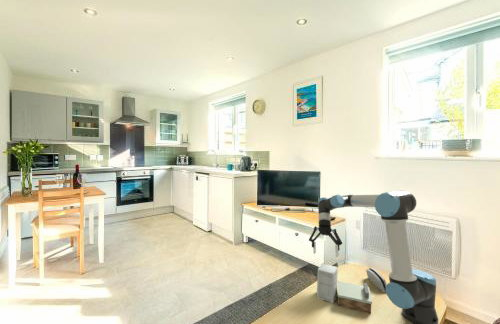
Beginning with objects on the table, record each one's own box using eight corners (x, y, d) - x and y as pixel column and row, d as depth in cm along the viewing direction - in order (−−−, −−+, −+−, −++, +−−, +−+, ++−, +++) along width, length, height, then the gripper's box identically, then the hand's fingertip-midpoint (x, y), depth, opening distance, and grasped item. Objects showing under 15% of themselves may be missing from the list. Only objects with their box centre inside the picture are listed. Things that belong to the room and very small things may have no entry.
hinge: (391, 292, 146) (386, 277, 145) (384, 294, 145) (379, 279, 145) (375, 277, 162) (370, 263, 161) (368, 279, 162) (364, 266, 161)
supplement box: (337, 295, 142) (338, 267, 141) (333, 303, 134) (334, 273, 133) (320, 290, 147) (321, 262, 146) (316, 297, 139) (317, 269, 138)
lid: (368, 289, 139) (369, 281, 139) (371, 304, 125) (372, 296, 125) (337, 283, 145) (338, 276, 145) (337, 296, 131) (338, 289, 131)
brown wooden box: (367, 298, 139) (368, 289, 139) (370, 313, 126) (371, 304, 126) (338, 292, 145) (338, 283, 144) (338, 306, 132) (338, 297, 131)
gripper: (341, 225, 162) (344, 258, 151) (304, 220, 163) (304, 253, 152) (345, 221, 156) (348, 256, 144) (306, 216, 157) (306, 250, 146)
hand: (325, 254), depth 148 cm, fingers open, 13 cm apart
